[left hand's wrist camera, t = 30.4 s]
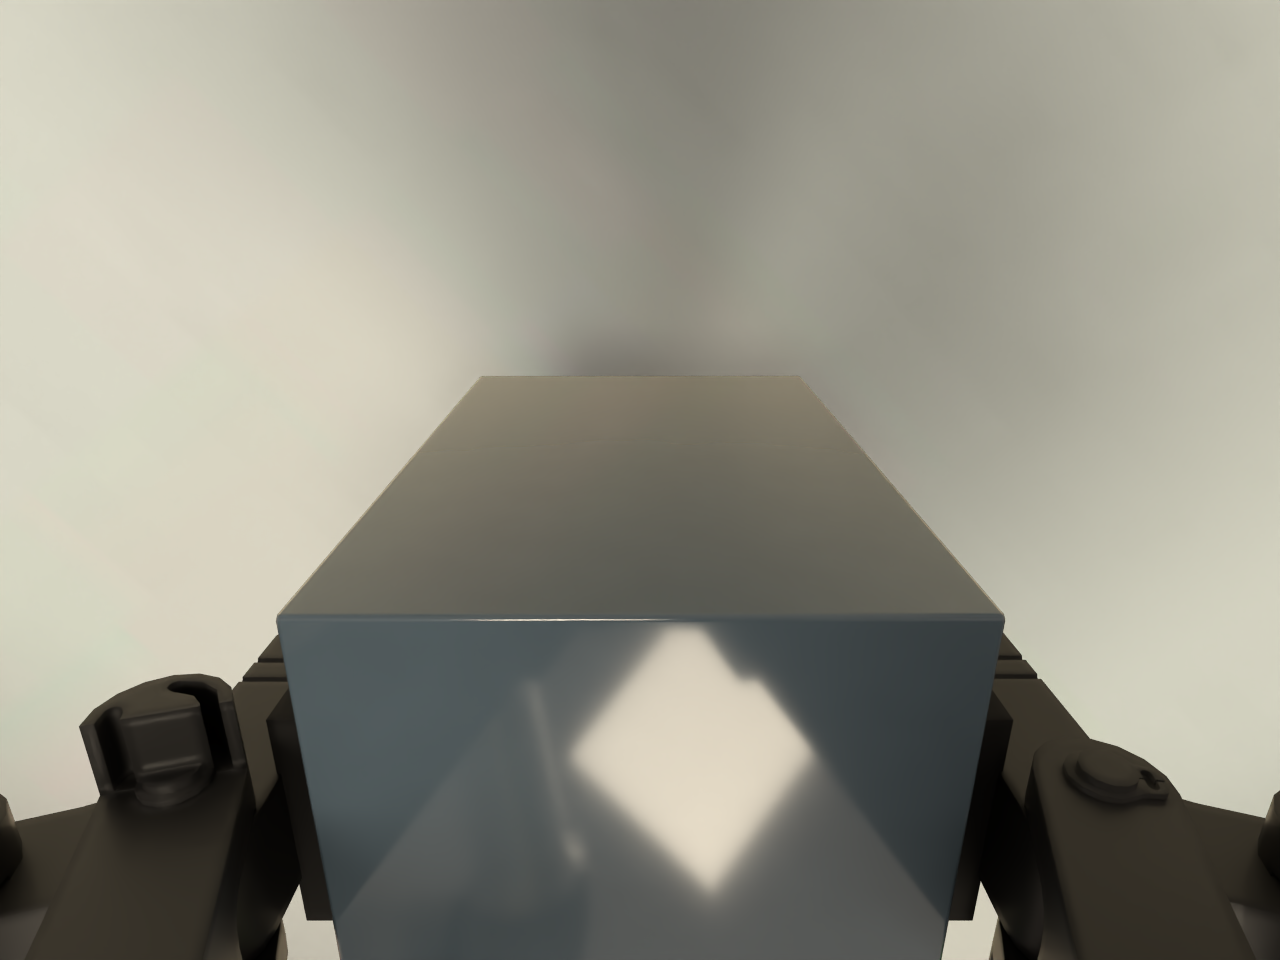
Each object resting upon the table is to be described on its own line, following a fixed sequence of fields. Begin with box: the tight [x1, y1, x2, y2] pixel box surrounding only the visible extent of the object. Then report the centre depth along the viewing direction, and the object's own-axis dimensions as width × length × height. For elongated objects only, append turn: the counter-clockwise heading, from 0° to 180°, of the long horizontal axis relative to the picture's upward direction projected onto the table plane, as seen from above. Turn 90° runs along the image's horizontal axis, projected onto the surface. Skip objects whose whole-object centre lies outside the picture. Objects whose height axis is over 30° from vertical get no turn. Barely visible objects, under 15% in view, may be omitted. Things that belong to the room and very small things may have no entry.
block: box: [276, 376, 1005, 960], centre depth 11 cm, size 6×6×9 cm
